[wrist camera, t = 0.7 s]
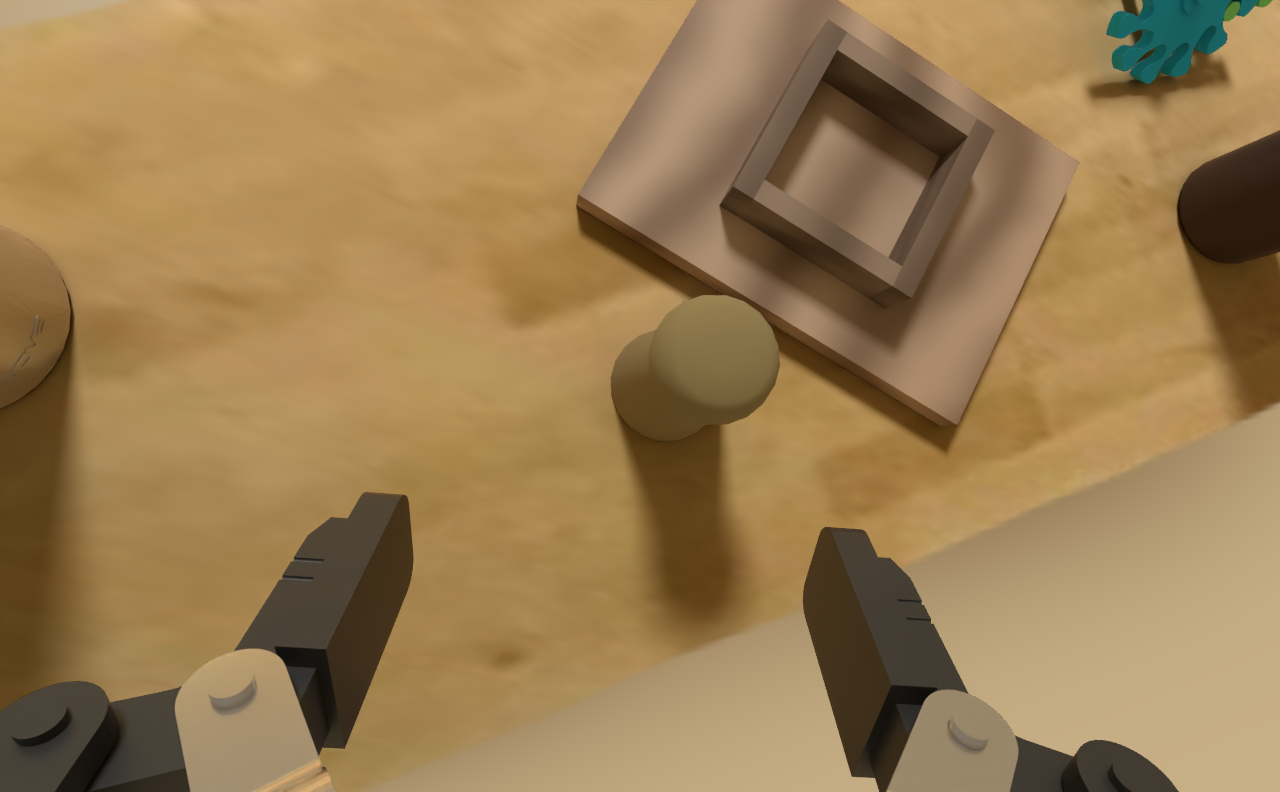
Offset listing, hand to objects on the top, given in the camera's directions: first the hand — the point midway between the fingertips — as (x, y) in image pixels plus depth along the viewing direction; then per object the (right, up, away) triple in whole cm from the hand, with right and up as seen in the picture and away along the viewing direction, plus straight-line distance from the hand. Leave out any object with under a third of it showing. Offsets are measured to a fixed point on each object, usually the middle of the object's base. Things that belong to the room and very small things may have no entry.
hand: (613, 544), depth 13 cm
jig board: (+12, +15, +25) cm, 32 cm away
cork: (+2, +3, +23) cm, 23 cm away
